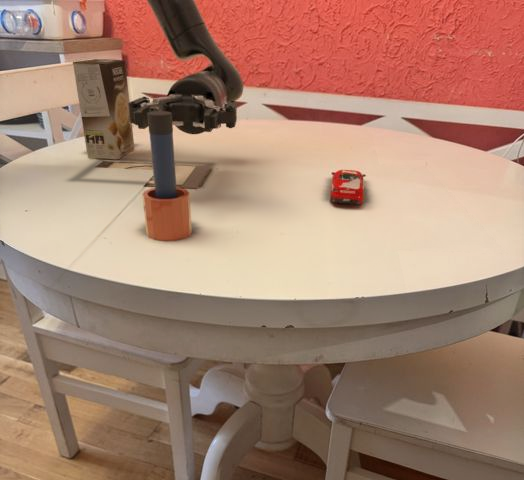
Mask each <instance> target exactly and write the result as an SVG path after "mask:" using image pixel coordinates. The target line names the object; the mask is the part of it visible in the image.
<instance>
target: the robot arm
mask: <svg viewBox="0 0 524 480" xmlns="http://www.w3.org/2000/svg"><path fill="white" fill-rule="evenodd" d="M146 2H147V3H148V5H149V8H150V9H151V11H152V12H153V14H154V17H155V19H156V20H157V23H158V24H159V26H160V29H161V31H162V32H163V35H164V37H165V38H166V41H167V43H168V44H169V46H170V48H171V50H172V52H173V54H174V56H175V57H176V59H178V60H179V61H181V62H185V61H189V60H193V59H195V58H198V57H205V58H206V59H207V60H208V61H209V62H210V65H207V66H206V67H204V68H203V69H201V70H199V71H198V72H194V73H190V74H188V75H186V76H184V77H182V78H180V79H179V80H177V81H175V82H174V83H173V84H172V86H170V88H169V90H168V91H167V95H166V96H161V97H160V96H159V97H154V98H153V99H152V101H150V100H151V99H150V97H147V96H141V97H138V98H136V99H134V100H131V101H129V103H128V105H129V114H130V123H132V125H135V126H137V128H138V129H139V130H145V129H147V128H149V126H148V115H147V113H148V112H152V111H167V112H171V113H172V124H173V126H175V128H176V129H177V130H179V131H180V132H183V133H185V134H188V135H200V134H203V133H212V131H213V130H214V129H215V130H218V129H220V128H222V125H224V124H225V127H226V128H228V129H233V128H235V127H236V125H237V121H238V102H237V101H238V100H239V99H240V98H241V97H242V96H243V93H244V81H243V77H242V76H241V75H242V74H241V73H240V71H239V70H238V69H237V67H236V66H235V65H234V64H233V63H232V61H231V60H230V59H229V58H228V57H227V56H226V54H225V52H223V50H222V49H221V48H220V46H219V45H218V44H217V42H216V41H215V39H214V37H213V36H212V34H211V33H210V30H209V29H208V26H207V25H206V23H205V21H204V18H203V16H202V14H201V12H200V9H199V7H198V6H197V2H196V1H195V0H146Z"/></svg>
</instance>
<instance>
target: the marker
mask: <svg viewBox="0 0 524 480" xmlns="http://www.w3.org/2000/svg"><path fill="white" fill-rule="evenodd" d="M147 115H148V132H149V142H150V151H151V153H150V154H151V163H152V164H153V170H152V173H153V176H154V185H155V187H154V188H155V196H156V198H157V199H173V198H177V188H176V174H175V164H176V161H175V148H174V147H175V146H174V134H173V132H174V125H173V124H172V113H171V112H167V111H152V112H148V113H147Z"/></svg>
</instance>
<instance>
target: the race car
mask: <svg viewBox="0 0 524 480" xmlns="http://www.w3.org/2000/svg"><path fill="white" fill-rule="evenodd" d="M331 175H332V179H331V186H330V195H329V196H330V198H329V202H330V203H336V204H348V205H349V204H351V205H352V204H353V205H363V203H364V197H365V186H364V185H365V184H364V178H365V177H367V175H366V174H364V173H363V174H362V172H360V171H359V170H354V169H353V170H352V169H338V170H337V171H335V172H334V171H333V172H331Z"/></svg>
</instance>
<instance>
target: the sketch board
mask: <svg viewBox="0 0 524 480" xmlns="http://www.w3.org/2000/svg"><path fill="white" fill-rule="evenodd" d="M95 168H97V169H98V168H99V169H119V170H120V169H123V170H140V171H141V170H142V171H153V164H152V162H136V161H134V162H133V161H116V160H115V161H112V160H102V161H101V162H100V163H98V164H97V165H95ZM211 169H212V168H211V165H199V164H197V165H196V164H180V163H179V164H176V163H175V174H176V187H178V188H182V189H185V190H197V189H198V188H200V187H201V185H202V184H203V182H204V181H205V180H206V177H207V176H208V174H209V173H210V171H211ZM143 187H145V188H155V185H154V175H152V176H151V178H149V180H148V181H146V183H145V184H143Z"/></svg>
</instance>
